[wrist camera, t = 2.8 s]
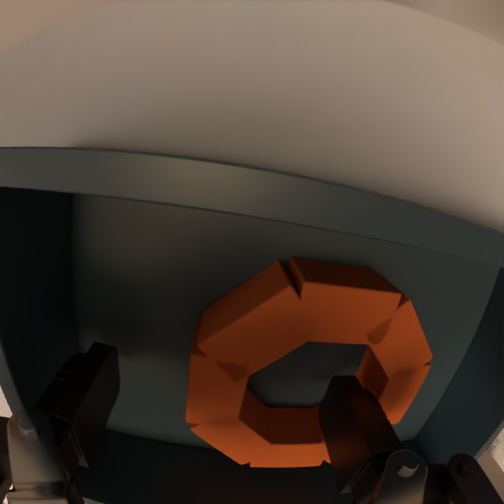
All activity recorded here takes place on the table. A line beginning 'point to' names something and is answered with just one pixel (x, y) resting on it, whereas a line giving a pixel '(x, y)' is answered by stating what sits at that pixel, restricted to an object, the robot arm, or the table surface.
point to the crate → (215, 287)
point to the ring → (288, 339)
